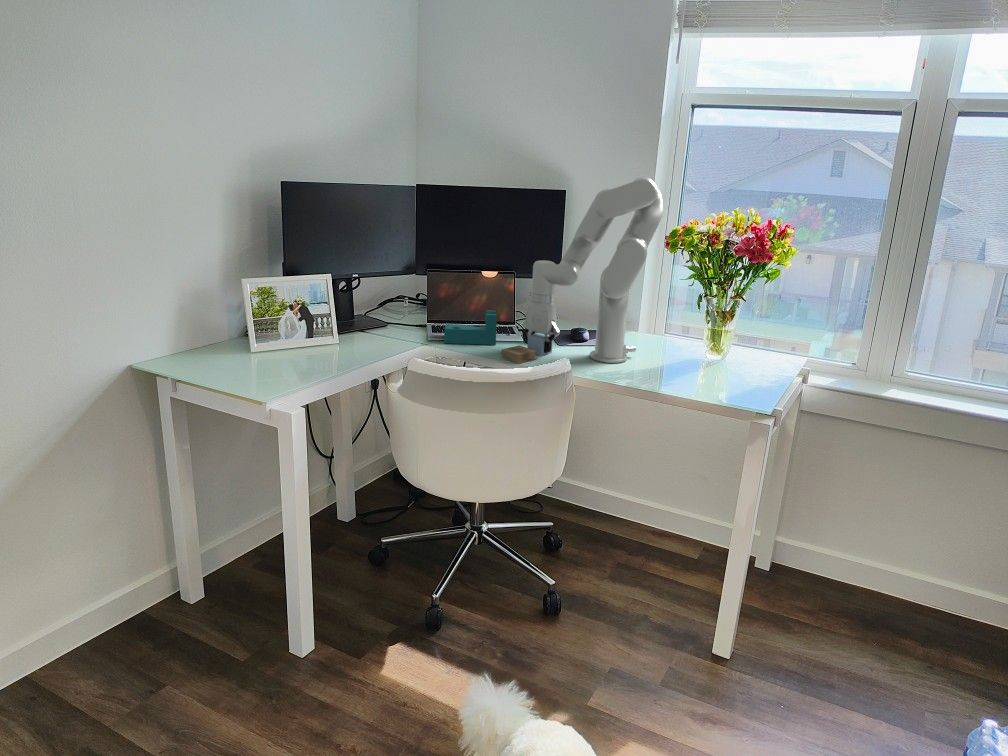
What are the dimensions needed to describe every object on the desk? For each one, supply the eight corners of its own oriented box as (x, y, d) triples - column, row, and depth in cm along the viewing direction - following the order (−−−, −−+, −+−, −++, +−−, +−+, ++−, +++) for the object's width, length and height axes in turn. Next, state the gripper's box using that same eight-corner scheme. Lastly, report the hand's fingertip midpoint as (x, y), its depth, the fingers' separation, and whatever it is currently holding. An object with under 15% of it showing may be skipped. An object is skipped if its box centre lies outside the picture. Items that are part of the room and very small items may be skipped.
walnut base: (519, 353, 247) (519, 345, 246) (535, 359, 242) (536, 350, 241) (501, 357, 242) (502, 349, 241) (518, 363, 236) (518, 354, 236)
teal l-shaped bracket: (495, 339, 266) (496, 310, 264) (495, 344, 256) (496, 315, 253) (445, 337, 265) (446, 309, 263) (444, 343, 255) (444, 313, 253)
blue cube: (538, 349, 254) (539, 332, 252) (551, 352, 250) (552, 335, 248) (527, 352, 250) (528, 335, 248) (541, 356, 246) (542, 339, 244)
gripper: (515, 295, 247) (513, 346, 252) (556, 304, 236) (553, 357, 242) (529, 292, 252) (526, 342, 258) (570, 301, 241) (566, 353, 247)
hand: (539, 349), depth 250 cm, fingers closed on blue cube, 6 cm apart
